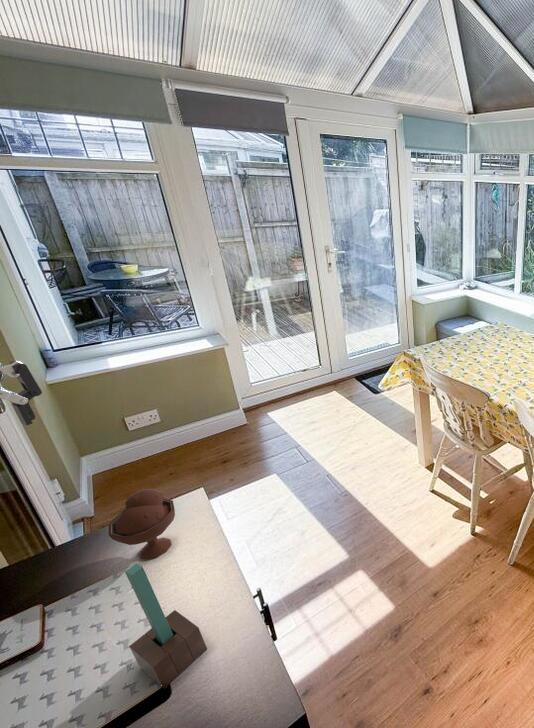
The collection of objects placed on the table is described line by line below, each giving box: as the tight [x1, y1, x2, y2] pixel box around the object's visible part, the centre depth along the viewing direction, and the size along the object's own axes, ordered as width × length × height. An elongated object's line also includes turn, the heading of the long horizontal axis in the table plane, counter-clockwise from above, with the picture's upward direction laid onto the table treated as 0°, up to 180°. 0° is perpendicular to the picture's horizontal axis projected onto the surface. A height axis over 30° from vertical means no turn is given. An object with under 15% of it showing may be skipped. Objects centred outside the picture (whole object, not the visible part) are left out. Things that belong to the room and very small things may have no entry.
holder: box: [128, 609, 208, 690], centre depth 70 cm, size 7×7×6 cm
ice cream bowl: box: [107, 488, 176, 561], centre depth 87 cm, size 11×11×15 cm
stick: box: [124, 563, 174, 646], centre depth 66 cm, size 2×2×22 cm
